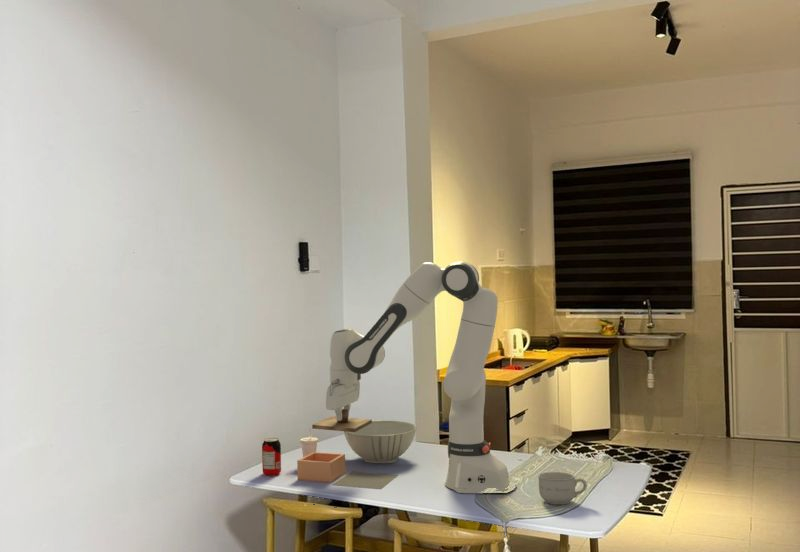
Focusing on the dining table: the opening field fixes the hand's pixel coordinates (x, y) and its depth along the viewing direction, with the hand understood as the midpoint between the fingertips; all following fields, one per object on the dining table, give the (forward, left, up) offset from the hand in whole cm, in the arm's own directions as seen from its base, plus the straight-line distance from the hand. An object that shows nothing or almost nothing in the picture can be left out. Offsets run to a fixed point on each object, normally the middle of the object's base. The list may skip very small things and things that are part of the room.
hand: (342, 418), depth 237 cm
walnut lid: (0, 0, -2) cm, 2 cm away
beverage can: (+27, 0, -21) cm, 34 cm away
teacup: (-72, +5, -21) cm, 75 cm away
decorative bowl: (-3, -27, -21) cm, 34 cm away
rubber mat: (-8, 0, -20) cm, 22 cm away
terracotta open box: (+8, 0, -20) cm, 22 cm away
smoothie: (+19, -13, -21) cm, 31 cm away
